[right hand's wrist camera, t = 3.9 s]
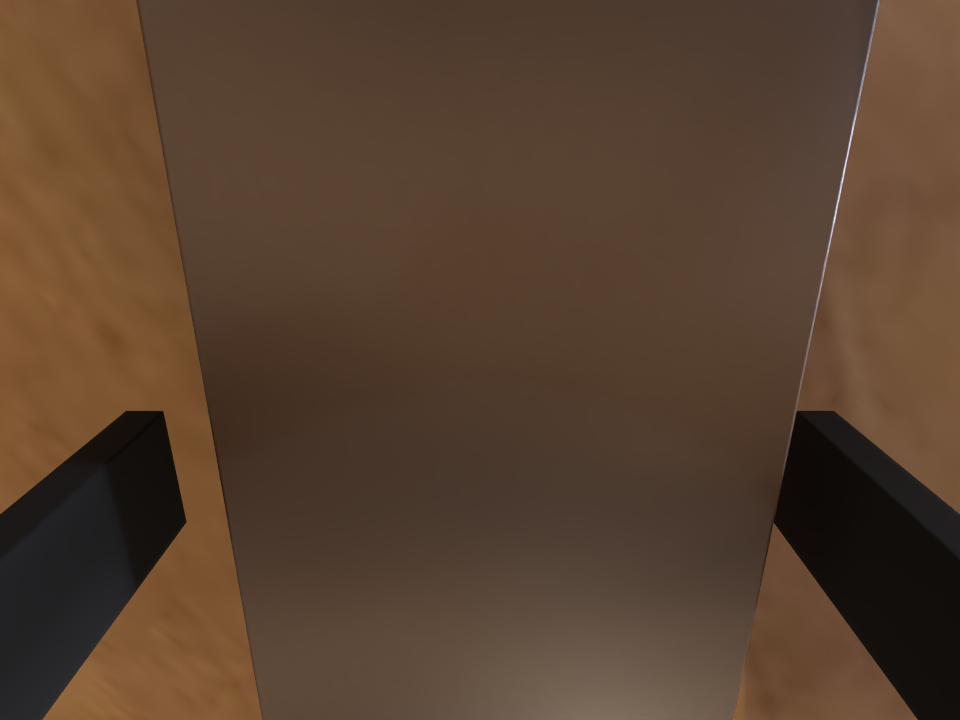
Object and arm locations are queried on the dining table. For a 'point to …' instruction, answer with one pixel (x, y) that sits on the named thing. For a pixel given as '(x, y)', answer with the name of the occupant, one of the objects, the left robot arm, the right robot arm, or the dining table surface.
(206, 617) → the dining table surface
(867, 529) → the right robot arm
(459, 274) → the wide beam
